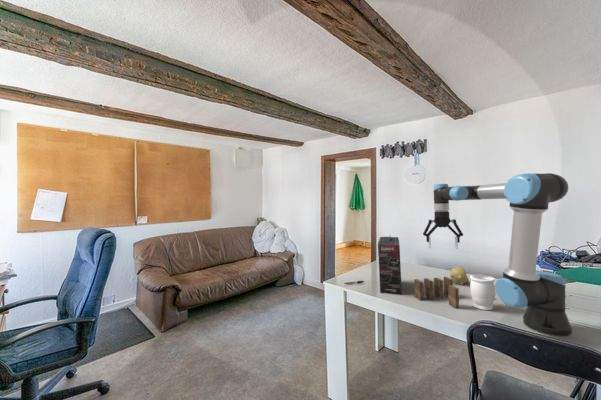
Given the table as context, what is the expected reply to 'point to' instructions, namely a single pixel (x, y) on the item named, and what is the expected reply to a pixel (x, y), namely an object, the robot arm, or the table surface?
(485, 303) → the jar
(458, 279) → the yellow lumpy round lump
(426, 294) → the domino
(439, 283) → the domino
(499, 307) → the table surface
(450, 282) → the domino
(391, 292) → the headset box
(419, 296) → the domino
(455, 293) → the domino
